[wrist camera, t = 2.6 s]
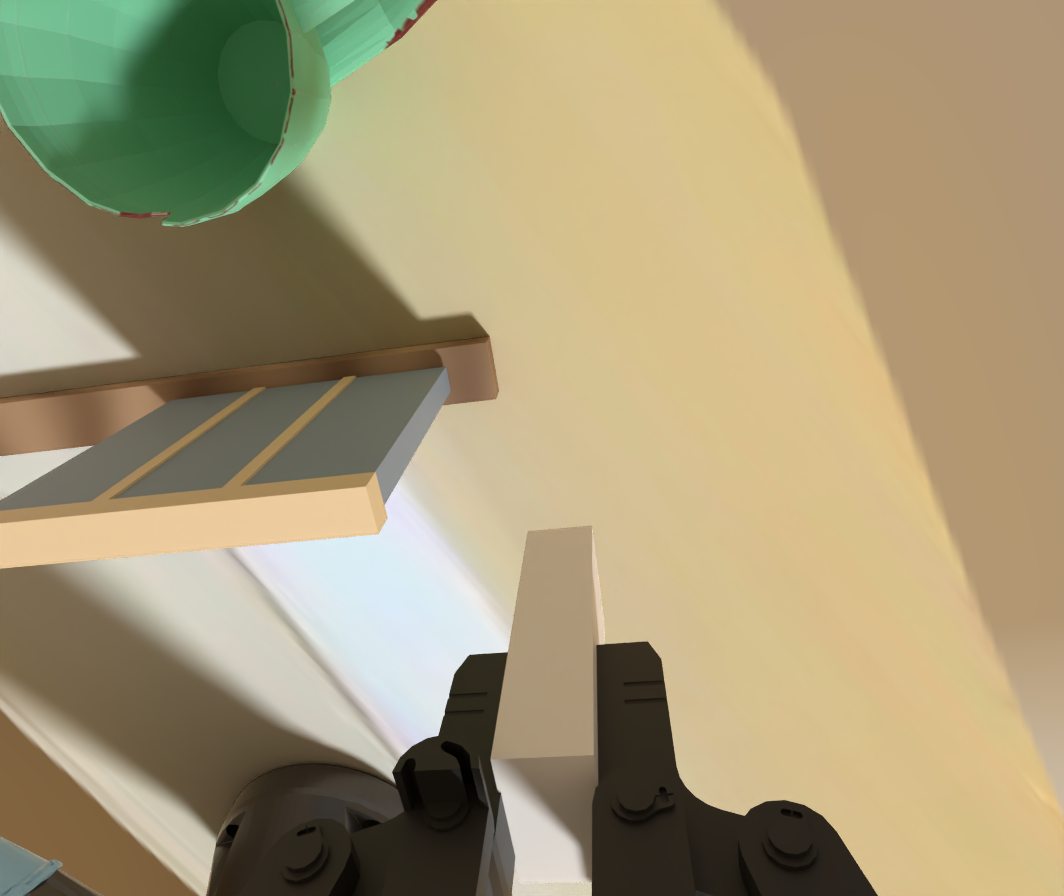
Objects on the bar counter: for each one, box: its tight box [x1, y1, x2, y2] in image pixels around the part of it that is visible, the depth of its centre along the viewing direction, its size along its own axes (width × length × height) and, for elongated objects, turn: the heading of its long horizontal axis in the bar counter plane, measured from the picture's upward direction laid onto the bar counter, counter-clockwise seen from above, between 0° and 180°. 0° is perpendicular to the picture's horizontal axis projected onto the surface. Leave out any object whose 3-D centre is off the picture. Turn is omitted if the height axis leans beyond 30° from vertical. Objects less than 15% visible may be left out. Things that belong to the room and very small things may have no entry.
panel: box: [0, 367, 451, 569], centre depth 27 cm, size 14×2×13 cm, turn 99°
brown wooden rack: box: [0, 336, 499, 456], centre depth 29 cm, size 31×3×14 cm, turn 99°
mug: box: [0, 0, 437, 227], centre depth 24 cm, size 15×10×10 cm
